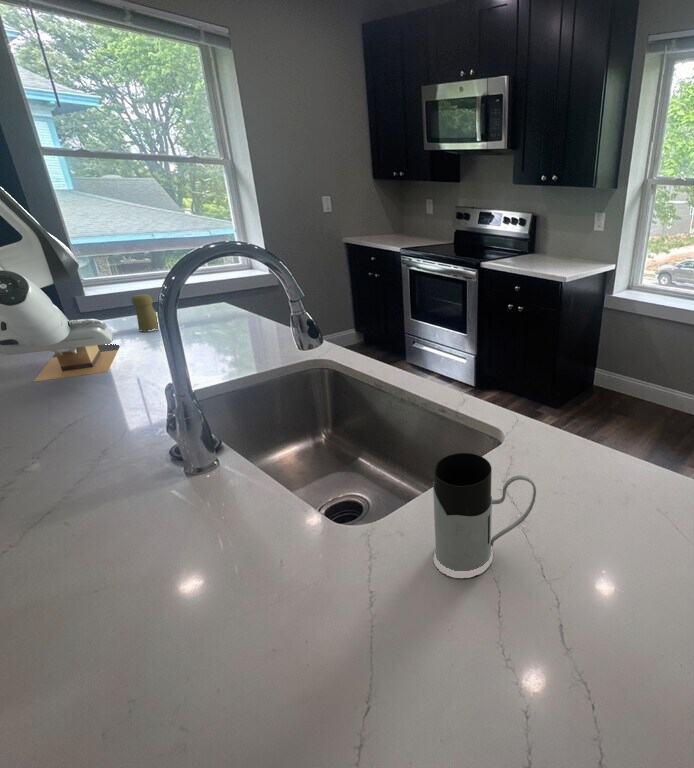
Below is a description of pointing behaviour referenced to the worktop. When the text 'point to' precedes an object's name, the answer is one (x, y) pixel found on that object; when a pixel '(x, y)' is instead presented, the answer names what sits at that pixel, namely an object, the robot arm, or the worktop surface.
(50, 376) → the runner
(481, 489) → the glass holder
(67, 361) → the eraser block
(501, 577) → the worktop surface
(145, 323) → the pepper shaker
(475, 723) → the worktop surface
